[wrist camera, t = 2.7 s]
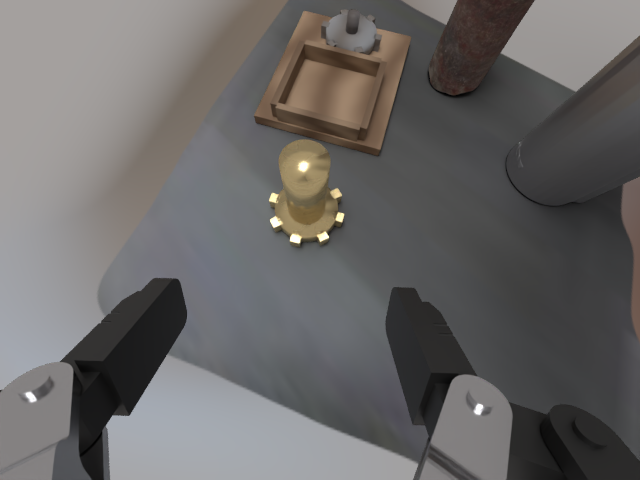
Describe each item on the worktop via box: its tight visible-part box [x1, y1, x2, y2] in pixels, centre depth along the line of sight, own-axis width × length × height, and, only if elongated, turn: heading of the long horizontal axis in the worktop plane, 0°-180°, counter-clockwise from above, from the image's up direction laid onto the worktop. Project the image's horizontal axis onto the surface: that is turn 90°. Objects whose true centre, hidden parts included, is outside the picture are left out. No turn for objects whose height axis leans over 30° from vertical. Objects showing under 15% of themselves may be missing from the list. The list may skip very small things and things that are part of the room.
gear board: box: [254, 9, 411, 156], centre depth 34 cm, size 16×20×5 cm
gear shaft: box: [269, 140, 344, 248], centre depth 25 cm, size 8×8×10 cm
